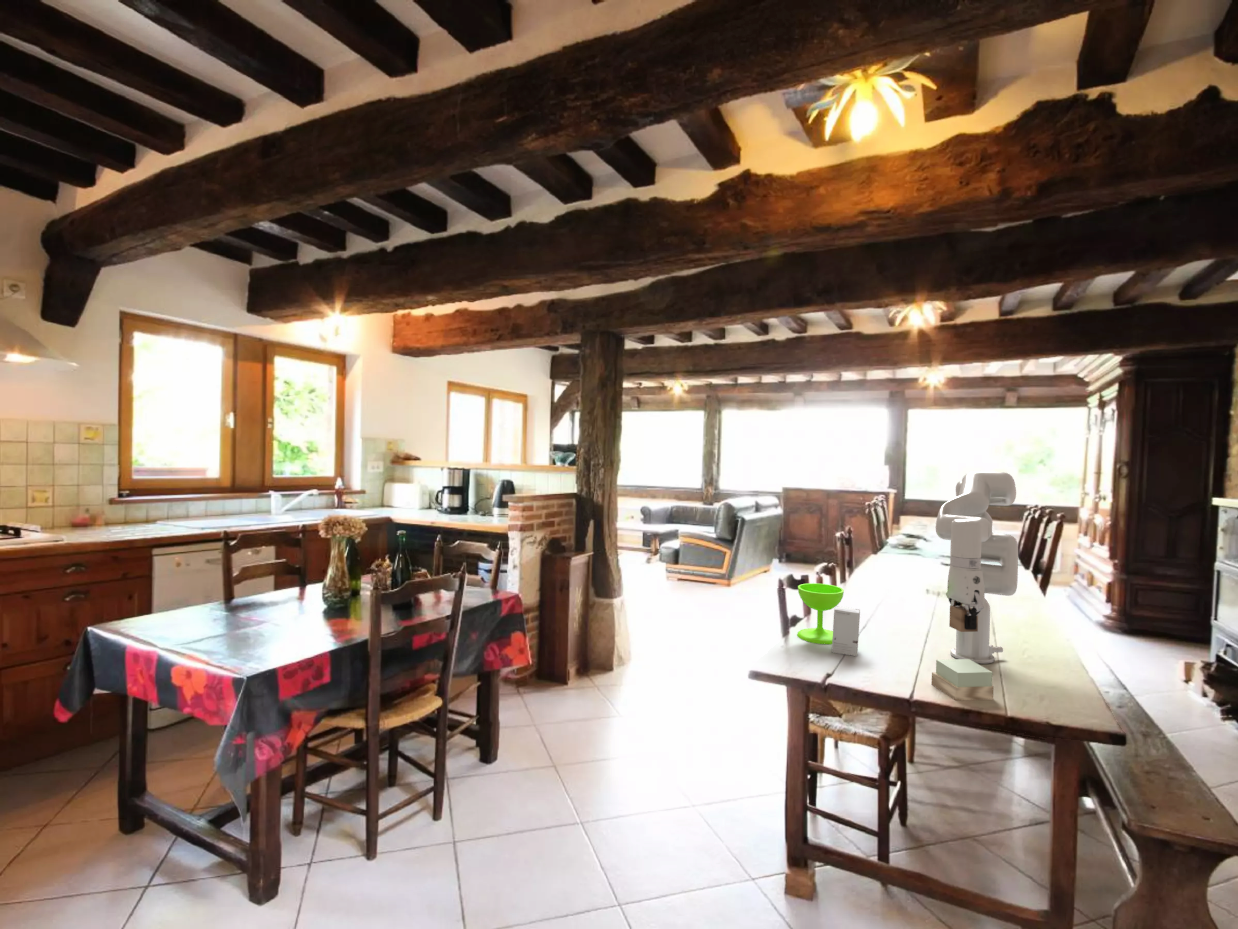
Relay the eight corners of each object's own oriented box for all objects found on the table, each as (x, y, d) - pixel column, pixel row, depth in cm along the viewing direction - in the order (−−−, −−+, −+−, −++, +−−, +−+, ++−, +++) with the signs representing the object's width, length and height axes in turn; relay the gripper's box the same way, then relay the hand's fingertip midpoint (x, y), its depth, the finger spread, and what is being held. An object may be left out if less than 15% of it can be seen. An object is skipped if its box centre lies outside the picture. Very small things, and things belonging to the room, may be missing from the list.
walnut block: (965, 626, 173) (966, 605, 173) (977, 631, 168) (978, 610, 168) (949, 626, 172) (949, 605, 172) (960, 631, 167) (961, 610, 167)
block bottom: (966, 684, 177) (967, 671, 177) (993, 700, 166) (993, 686, 166) (931, 685, 176) (931, 672, 176) (955, 702, 165) (956, 687, 165)
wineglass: (832, 630, 227) (833, 583, 226) (850, 644, 211) (851, 593, 210) (791, 630, 226) (791, 583, 226) (805, 644, 210) (806, 593, 210)
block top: (968, 672, 176) (969, 659, 176) (992, 686, 166) (992, 672, 166) (935, 673, 175) (936, 659, 175) (957, 687, 165) (957, 673, 165)
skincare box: (831, 653, 202) (832, 609, 201) (833, 647, 207) (834, 605, 207) (858, 656, 198) (859, 612, 198) (859, 651, 204) (860, 608, 203)
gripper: (999, 568, 161) (997, 635, 162) (958, 557, 178) (956, 617, 179) (973, 569, 161) (971, 636, 161) (934, 557, 178) (932, 617, 178)
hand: (963, 625), depth 170 cm, fingers closed on walnut block, 5 cm apart
